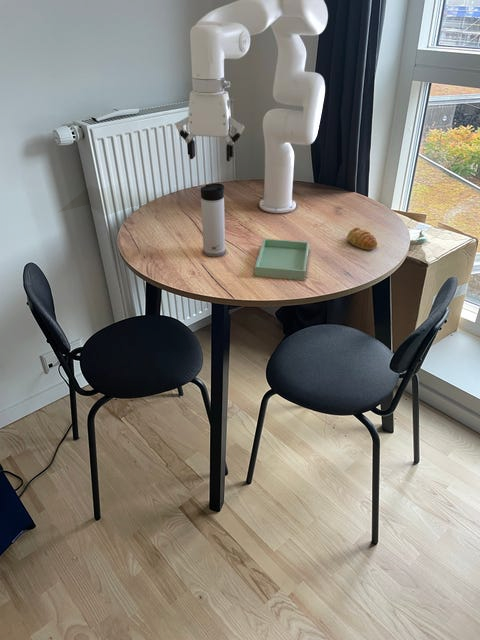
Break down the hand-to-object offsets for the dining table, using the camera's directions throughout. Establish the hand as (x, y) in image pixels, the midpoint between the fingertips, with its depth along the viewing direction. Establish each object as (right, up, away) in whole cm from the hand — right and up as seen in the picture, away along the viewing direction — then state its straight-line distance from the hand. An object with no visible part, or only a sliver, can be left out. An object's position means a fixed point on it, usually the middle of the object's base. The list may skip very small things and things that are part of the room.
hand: (210, 158), depth 125 cm
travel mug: (0, -22, +16) cm, 27 cm away
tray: (+19, -26, +10) cm, 34 cm away
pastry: (+44, -19, +20) cm, 52 cm away
